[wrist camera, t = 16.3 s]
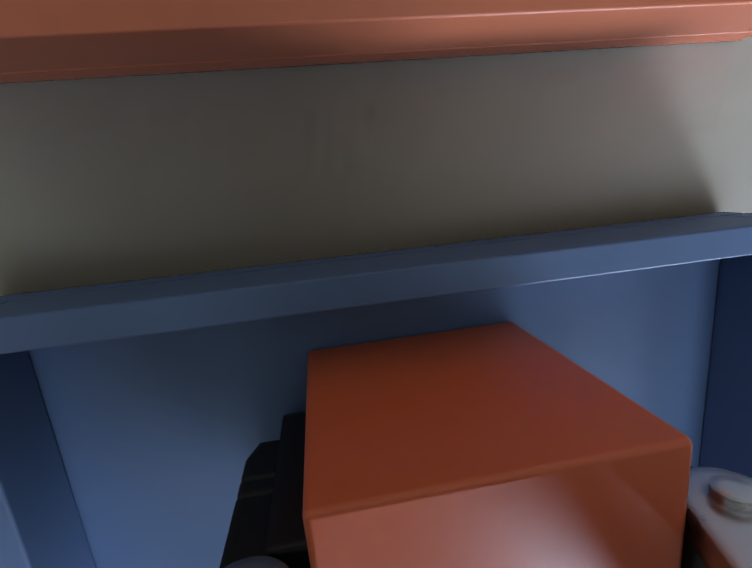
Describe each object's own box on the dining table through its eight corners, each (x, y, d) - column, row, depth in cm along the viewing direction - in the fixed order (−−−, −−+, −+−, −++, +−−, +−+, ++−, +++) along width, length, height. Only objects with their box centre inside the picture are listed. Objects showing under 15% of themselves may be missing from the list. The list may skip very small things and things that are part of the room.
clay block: (332, 529, 10) (348, 813, 5) (307, 349, 9) (301, 515, 4) (515, 493, 10) (668, 722, 6) (512, 319, 9) (698, 439, 5)
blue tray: (157, 785, 11) (123, 913, 9) (1, 295, 8) (-103, 329, 6) (676, 649, 13) (742, 730, 11) (721, 211, 10) (825, 216, 8)
